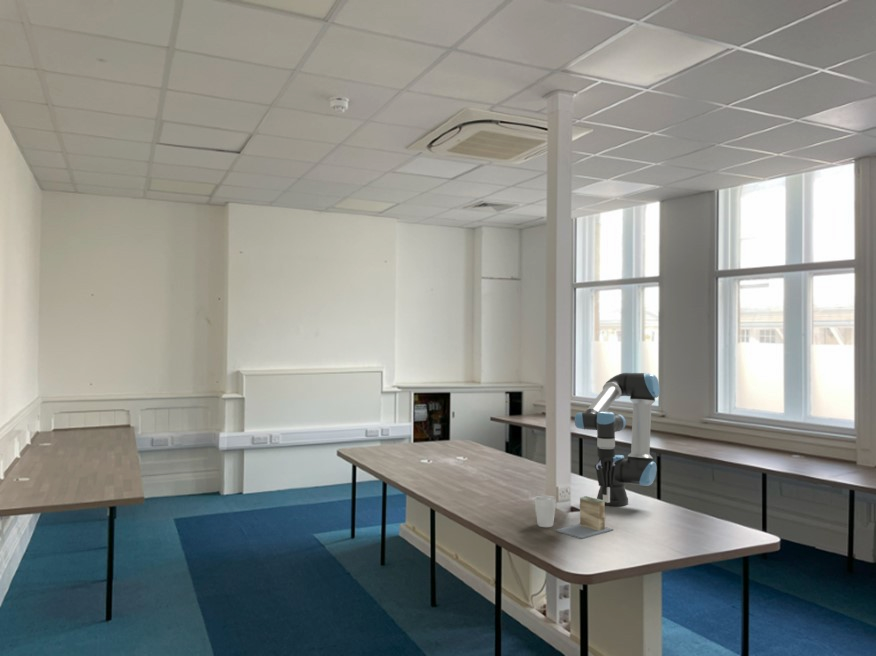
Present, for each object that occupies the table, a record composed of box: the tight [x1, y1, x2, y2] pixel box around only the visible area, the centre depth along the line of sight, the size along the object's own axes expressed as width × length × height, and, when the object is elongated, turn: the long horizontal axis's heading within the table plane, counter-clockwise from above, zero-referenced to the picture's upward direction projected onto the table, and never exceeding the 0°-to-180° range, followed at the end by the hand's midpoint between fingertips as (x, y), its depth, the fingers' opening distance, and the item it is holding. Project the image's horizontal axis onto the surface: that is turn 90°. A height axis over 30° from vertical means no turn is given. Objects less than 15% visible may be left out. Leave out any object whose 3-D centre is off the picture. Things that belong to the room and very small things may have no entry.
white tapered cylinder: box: [534, 494, 557, 528], centre depth 288 cm, size 9×9×12 cm
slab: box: [579, 495, 606, 531], centre depth 283 cm, size 4×10×12 cm, turn 37°
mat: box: [555, 523, 614, 540], centre depth 279 cm, size 20×14×1 cm
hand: (606, 501), depth 288 cm, fingers closed
